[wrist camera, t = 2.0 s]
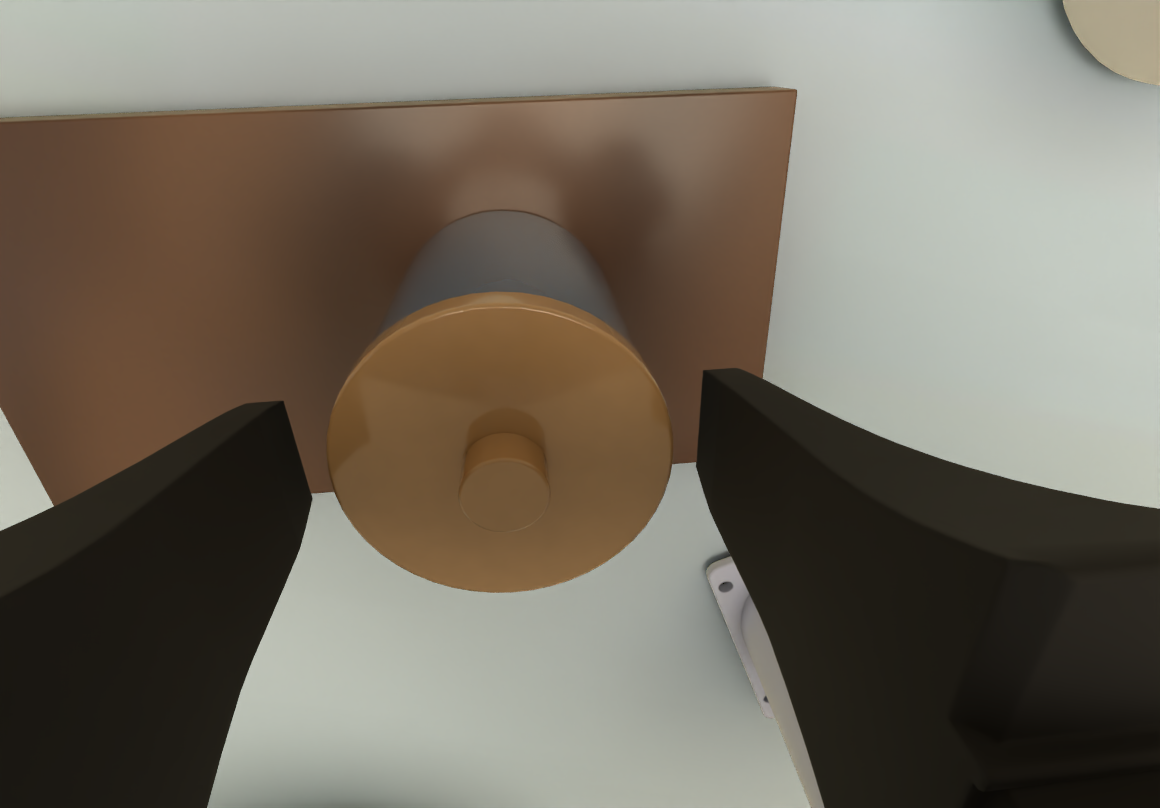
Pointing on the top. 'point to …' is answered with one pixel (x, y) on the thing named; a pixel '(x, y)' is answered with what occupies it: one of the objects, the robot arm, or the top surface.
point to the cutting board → (353, 250)
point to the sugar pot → (500, 414)
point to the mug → (1120, 35)
